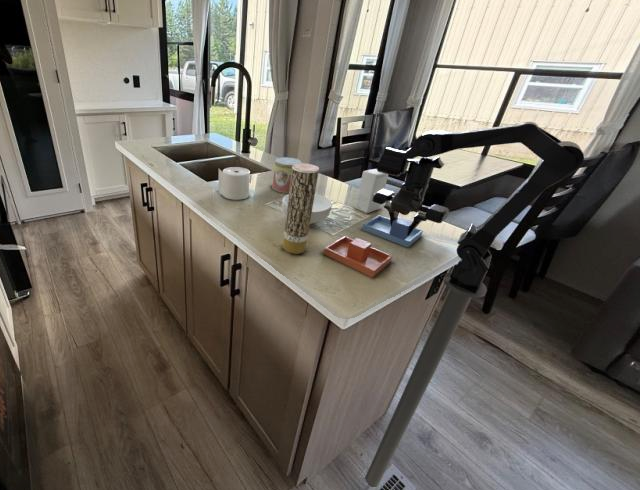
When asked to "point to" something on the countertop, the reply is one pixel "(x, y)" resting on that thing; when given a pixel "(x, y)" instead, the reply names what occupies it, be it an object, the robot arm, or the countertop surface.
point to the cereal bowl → (314, 208)
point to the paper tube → (300, 207)
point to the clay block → (358, 249)
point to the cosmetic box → (370, 190)
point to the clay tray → (367, 266)
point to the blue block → (400, 228)
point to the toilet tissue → (234, 183)
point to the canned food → (283, 173)
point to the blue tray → (382, 229)
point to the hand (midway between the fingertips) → (400, 231)
